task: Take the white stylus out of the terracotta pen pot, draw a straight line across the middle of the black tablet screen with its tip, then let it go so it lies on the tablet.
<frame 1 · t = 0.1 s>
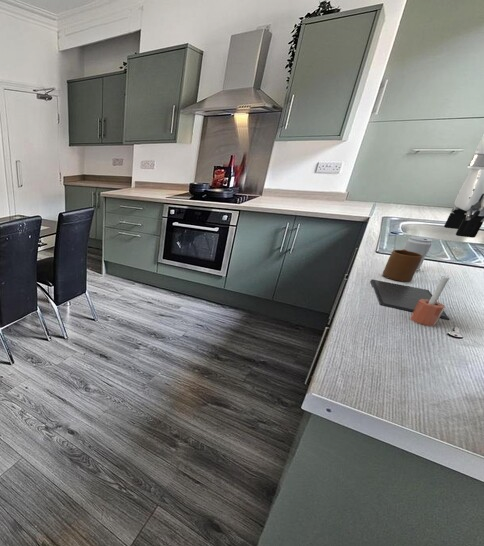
hand: (458, 232, 81), 23 cm above the worktop, tool pointing down, fingers open, 9 cm apart
mug: (395, 276, 113), on the worktop
stylus: (422, 321, 83), resting on pen pot
tablet: (404, 299, 96), on the worktop
beverage can: (406, 268, 119), on the worktop
pen pot: (421, 322, 84), on the worktop
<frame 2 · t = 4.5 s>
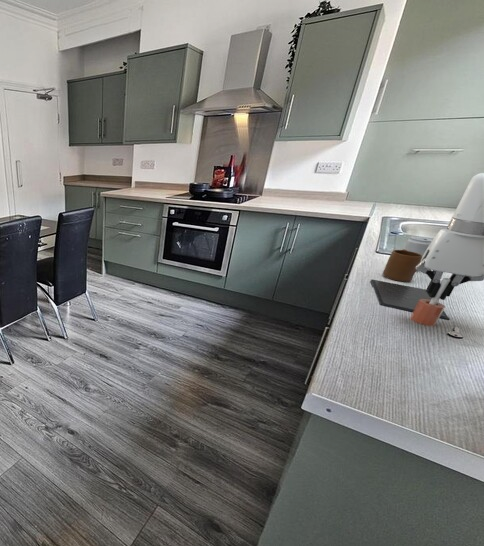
hand: (435, 296, 80), 8 cm above the worktop, tool pointing down, fingers closed on stylus, 1 cm apart
stylus: (422, 321, 83), point 1 cm above the worktop, tilted 5°, touching gripper, pen pot
everything else where it was.
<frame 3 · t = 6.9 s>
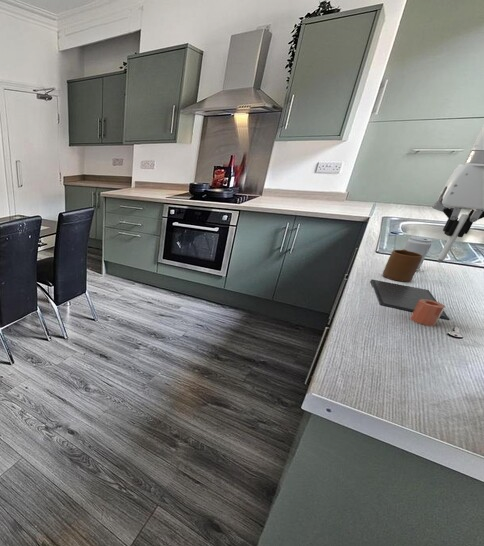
hand: (453, 235, 79), 23 cm above the worktop, tool pointing down, fingers closed on stylus, 1 cm apart
stylus: (439, 262, 82), point 15 cm above the worktop, tilted 5°, touching gripper
everything else where it was.
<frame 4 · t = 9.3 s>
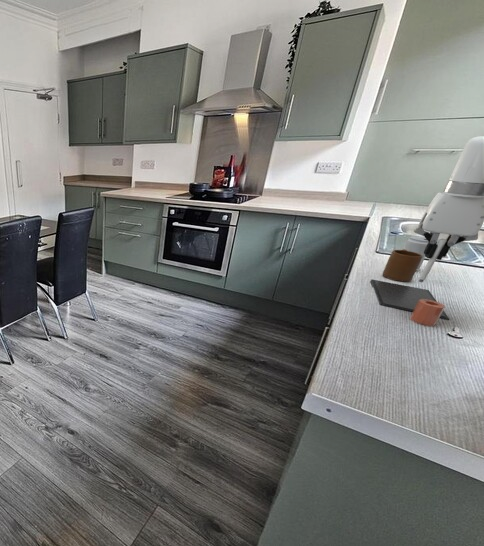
hand: (432, 257, 85), 16 cm above the worktop, tool pointing down, fingers closed on stylus, 1 cm apart
stylus: (420, 282, 88), point 8 cm above the worktop, tilted 5°, touching gripper
everything else where it was.
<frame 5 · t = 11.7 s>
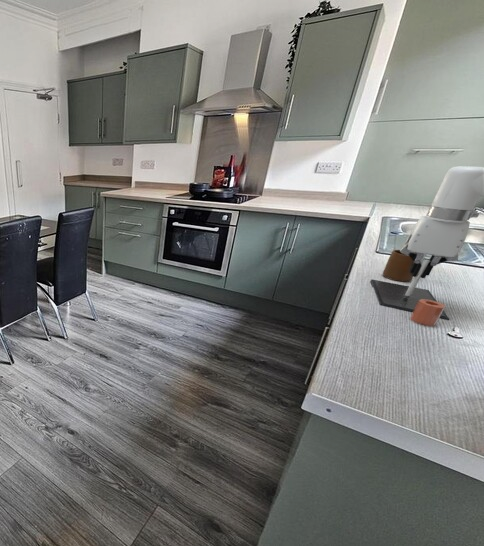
hand: (417, 275, 91), 9 cm above the worktop, tool pointing down, fingers closed on stylus, 1 cm apart
stylus: (406, 298, 94), point 1 cm above the worktop, touching gripper, tablet
everything else where it was.
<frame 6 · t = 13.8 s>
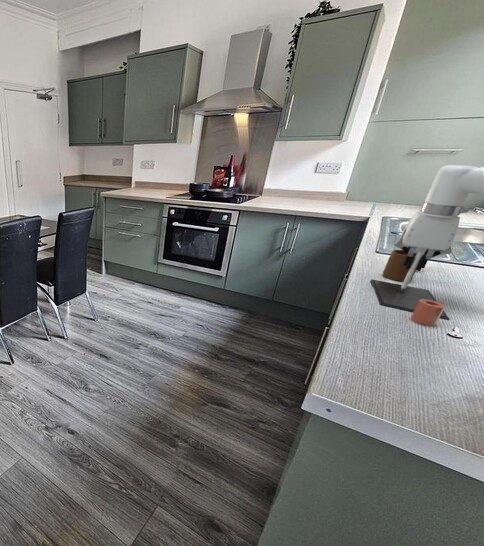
hand: (411, 268, 97), 8 cm above the worktop, tool pointing down, fingers closed
stylus: (402, 290, 99), point 1 cm above the worktop, touching tablet
everything else where it was.
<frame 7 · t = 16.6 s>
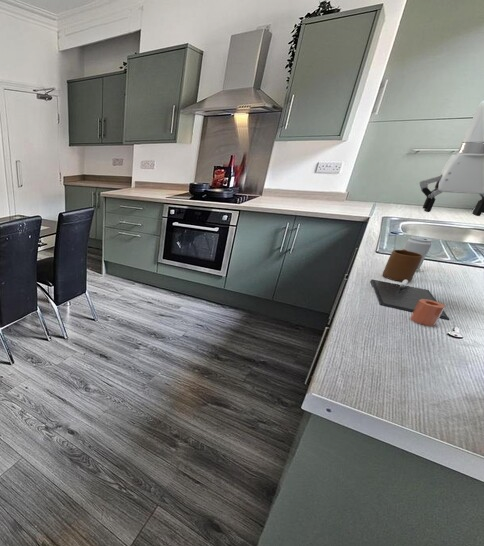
hand: (450, 213, 89), 26 cm above the worktop, tool pointing down, fingers open, 9 cm apart
mug: (395, 276, 113), on the worktop, touching stylus
stylus: (402, 286, 99), point 2 cm above the worktop, tilted 98°, touching mug, tablet
everything else where it was.
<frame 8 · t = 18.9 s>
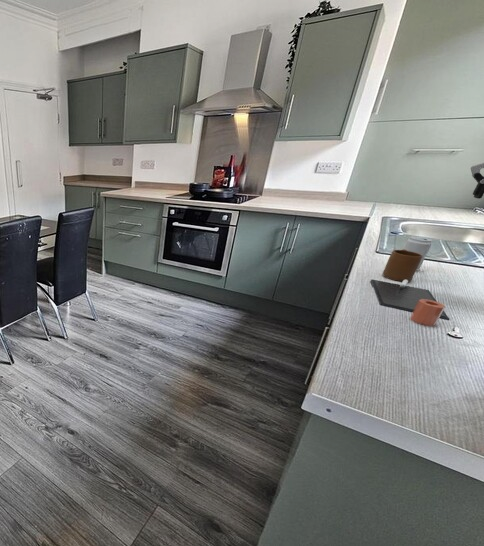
nothing on the worktop moved.
at the end: stylus inside the target area on the tablet (4.6 cm from its centre), point 2.5 cm above the tablet's base; stylus moved 20.8 cm from its start; the gripper is holding nothing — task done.
